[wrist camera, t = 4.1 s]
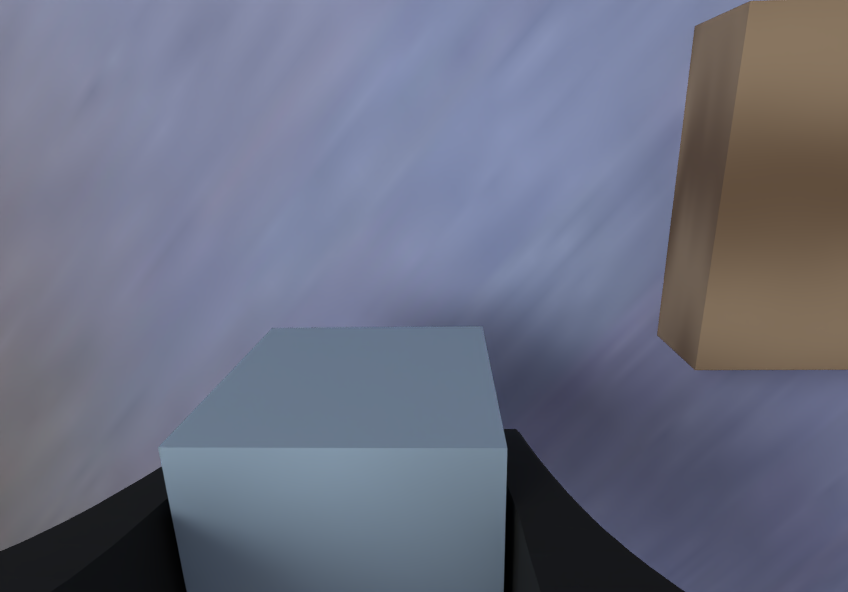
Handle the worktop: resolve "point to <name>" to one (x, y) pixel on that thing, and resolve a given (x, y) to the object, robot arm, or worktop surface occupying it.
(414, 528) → the slate cube
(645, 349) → the worktop surface
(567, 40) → the worktop surface
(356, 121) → the worktop surface
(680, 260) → the walnut slab
